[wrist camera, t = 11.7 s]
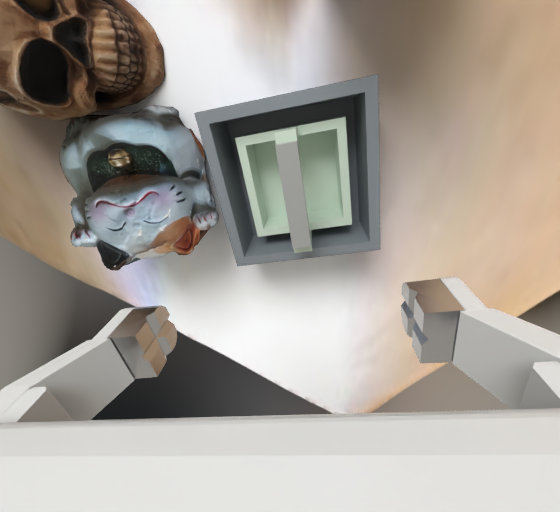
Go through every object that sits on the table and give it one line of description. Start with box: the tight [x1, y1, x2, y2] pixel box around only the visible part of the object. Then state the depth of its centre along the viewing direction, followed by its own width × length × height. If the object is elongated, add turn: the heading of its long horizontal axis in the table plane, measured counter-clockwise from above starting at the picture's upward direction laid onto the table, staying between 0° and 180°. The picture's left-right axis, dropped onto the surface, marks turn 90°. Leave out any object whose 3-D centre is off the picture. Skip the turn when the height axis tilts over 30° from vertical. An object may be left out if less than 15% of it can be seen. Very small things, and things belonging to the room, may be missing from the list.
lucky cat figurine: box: [59, 105, 219, 270], centre depth 28 cm, size 15×12×14 cm
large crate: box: [195, 74, 380, 266], centre depth 28 cm, size 15×15×7 cm
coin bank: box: [0, 0, 164, 120], centre depth 22 cm, size 16×17×13 cm
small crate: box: [235, 116, 352, 253], centre depth 26 cm, size 10×10×10 cm
